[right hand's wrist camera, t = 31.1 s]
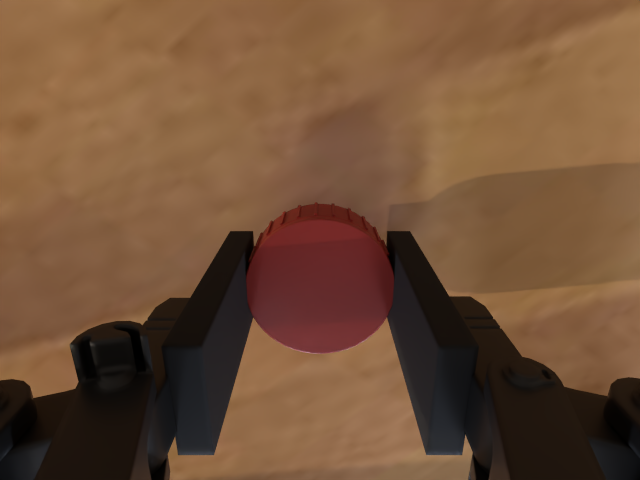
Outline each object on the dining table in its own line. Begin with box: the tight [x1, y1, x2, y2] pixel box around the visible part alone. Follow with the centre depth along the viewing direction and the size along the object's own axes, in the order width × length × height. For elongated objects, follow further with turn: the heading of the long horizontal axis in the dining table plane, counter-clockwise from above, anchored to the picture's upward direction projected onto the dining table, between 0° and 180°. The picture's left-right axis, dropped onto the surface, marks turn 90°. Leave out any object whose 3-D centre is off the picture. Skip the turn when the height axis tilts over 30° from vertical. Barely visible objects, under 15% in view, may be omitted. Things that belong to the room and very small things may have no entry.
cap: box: [246, 203, 394, 354], centre depth 14 cm, size 5×5×2 cm
